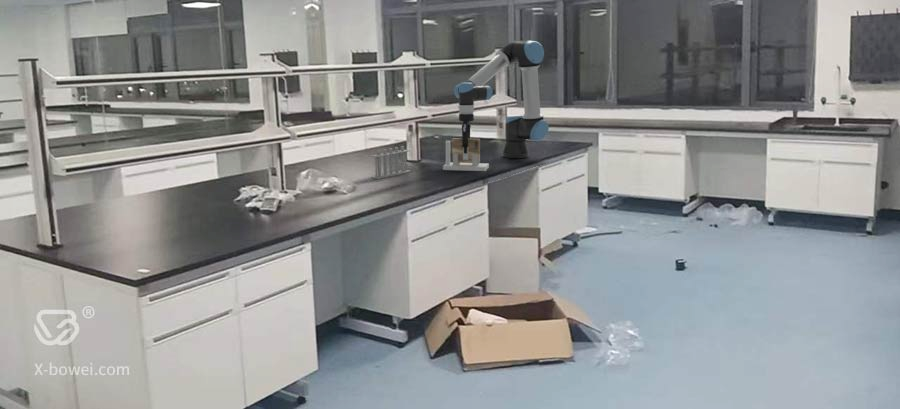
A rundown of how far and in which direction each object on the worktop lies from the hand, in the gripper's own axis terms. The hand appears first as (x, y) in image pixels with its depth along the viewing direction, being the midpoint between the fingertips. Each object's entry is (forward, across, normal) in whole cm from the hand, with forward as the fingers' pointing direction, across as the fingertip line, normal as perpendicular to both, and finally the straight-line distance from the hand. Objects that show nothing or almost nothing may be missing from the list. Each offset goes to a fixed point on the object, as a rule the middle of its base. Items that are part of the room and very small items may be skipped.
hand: (466, 158), depth 390 cm
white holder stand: (+5, 0, 0) cm, 5 cm away
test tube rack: (+5, +25, -33) cm, 42 cm away
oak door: (+2, 0, 0) cm, 2 cm away
